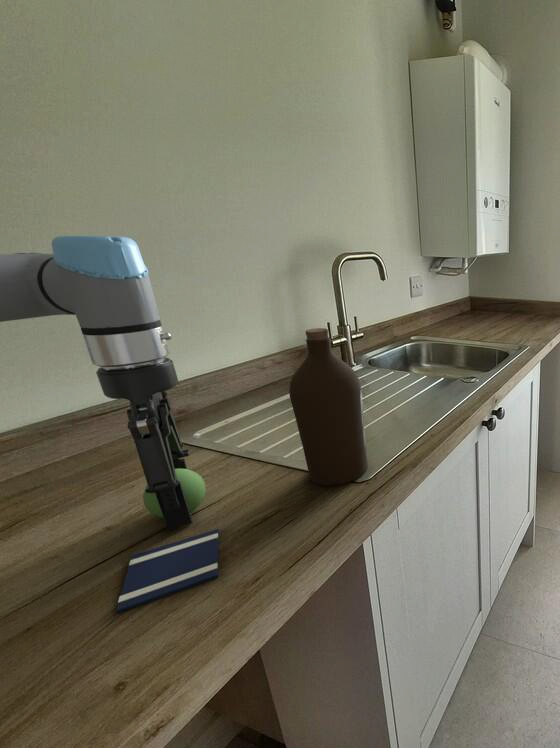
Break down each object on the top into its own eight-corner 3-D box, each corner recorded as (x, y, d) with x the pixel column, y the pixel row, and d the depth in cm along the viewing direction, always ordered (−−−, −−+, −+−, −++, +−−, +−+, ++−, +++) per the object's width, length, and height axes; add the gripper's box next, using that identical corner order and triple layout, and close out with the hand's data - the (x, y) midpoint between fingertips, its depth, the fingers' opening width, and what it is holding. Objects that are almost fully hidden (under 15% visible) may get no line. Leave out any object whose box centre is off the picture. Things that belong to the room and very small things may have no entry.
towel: (133, 557, 52) (132, 554, 52) (218, 531, 56) (217, 528, 56) (117, 613, 44) (115, 610, 44) (218, 577, 49) (217, 573, 48)
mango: (154, 509, 61) (140, 468, 59) (211, 494, 65) (200, 455, 63) (147, 535, 56) (132, 491, 54) (210, 517, 59) (198, 475, 57)
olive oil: (321, 496, 64) (292, 340, 56) (296, 472, 71) (267, 330, 63) (382, 470, 71) (365, 329, 63) (354, 450, 78) (335, 321, 70)
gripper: (162, 375, 47) (211, 539, 55) (177, 343, 63) (214, 474, 70) (72, 388, 43) (138, 562, 51) (112, 350, 59) (158, 488, 66)
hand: (182, 511), depth 60 cm, fingers closed on mango, 7 cm apart
